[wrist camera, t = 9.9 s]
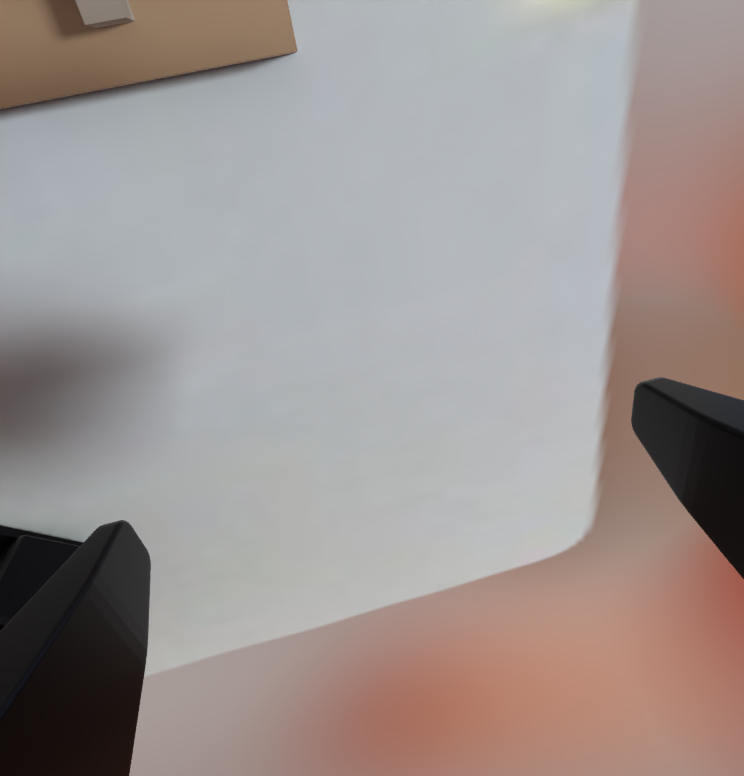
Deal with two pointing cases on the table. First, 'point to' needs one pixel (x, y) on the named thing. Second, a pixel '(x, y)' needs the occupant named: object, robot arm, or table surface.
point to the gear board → (129, 42)
